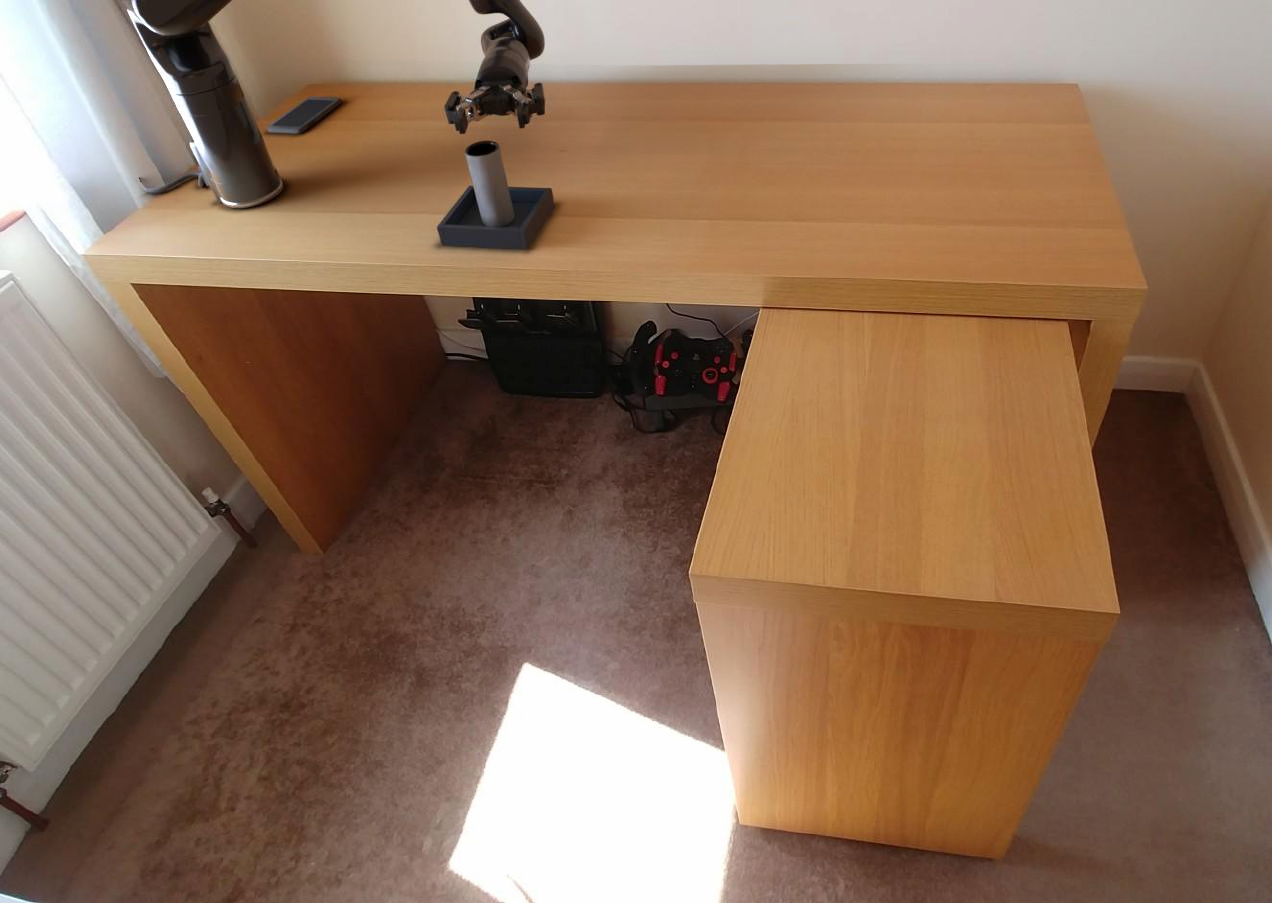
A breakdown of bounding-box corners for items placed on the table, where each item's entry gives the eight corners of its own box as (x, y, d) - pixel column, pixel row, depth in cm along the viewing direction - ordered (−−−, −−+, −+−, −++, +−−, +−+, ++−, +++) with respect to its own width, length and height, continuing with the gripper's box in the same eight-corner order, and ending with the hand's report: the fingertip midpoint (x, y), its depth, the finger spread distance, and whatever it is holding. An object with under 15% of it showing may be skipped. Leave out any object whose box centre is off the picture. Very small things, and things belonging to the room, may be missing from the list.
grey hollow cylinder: (521, 218, 114) (505, 146, 107) (494, 231, 112) (477, 159, 105) (502, 207, 117) (486, 137, 110) (476, 220, 115) (457, 149, 108)
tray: (441, 245, 113) (436, 227, 111) (473, 203, 121) (469, 185, 119) (527, 249, 110) (523, 230, 108) (554, 206, 118) (551, 187, 116)
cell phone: (343, 101, 154) (342, 97, 153) (300, 134, 144) (298, 130, 144) (310, 100, 156) (309, 96, 155) (266, 132, 147) (264, 128, 146)
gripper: (451, 59, 125) (433, 102, 114) (544, 50, 124) (536, 92, 113) (463, 109, 130) (447, 155, 119) (552, 100, 130) (545, 145, 118)
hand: (490, 124), depth 116 cm, fingers open, 8 cm apart
